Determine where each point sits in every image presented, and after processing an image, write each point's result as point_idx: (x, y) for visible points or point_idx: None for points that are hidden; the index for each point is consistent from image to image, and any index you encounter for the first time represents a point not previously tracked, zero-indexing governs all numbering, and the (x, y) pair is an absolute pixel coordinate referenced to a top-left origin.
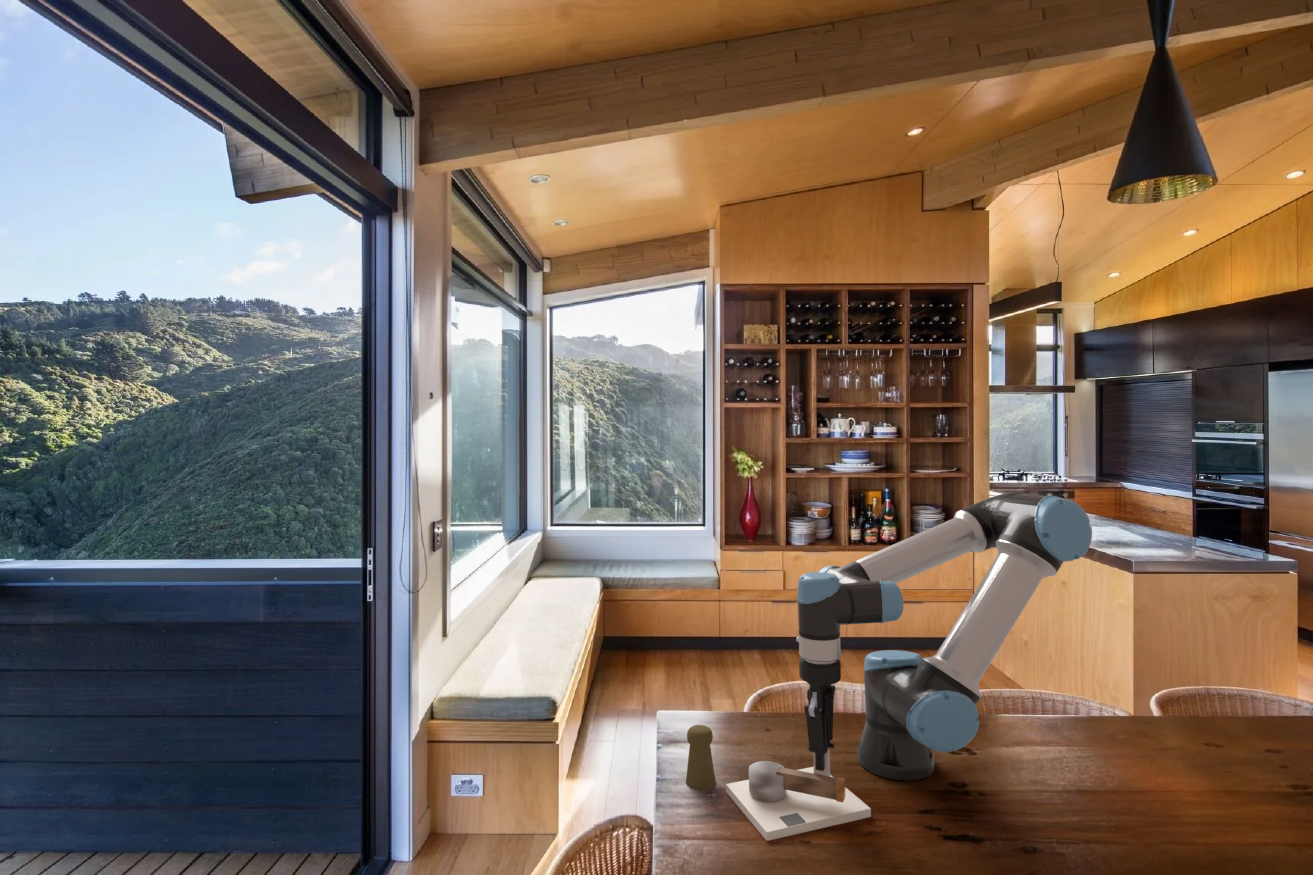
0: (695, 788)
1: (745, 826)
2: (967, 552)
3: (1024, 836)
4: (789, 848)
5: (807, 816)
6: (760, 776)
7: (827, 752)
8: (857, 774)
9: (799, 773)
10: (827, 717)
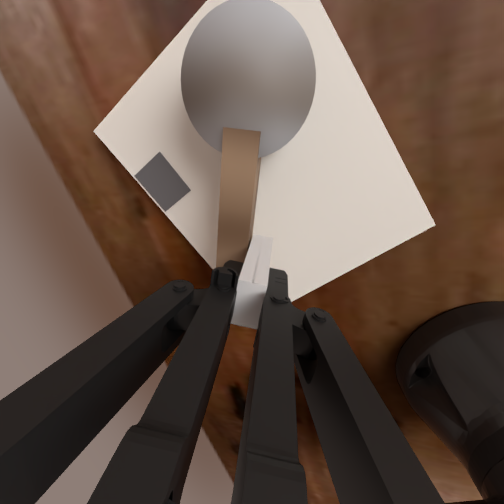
0: None
1: (133, 66)
2: None
3: None
4: (107, 181)
5: (188, 212)
6: (193, 69)
7: (232, 322)
8: (419, 296)
9: (235, 205)
10: (238, 457)
